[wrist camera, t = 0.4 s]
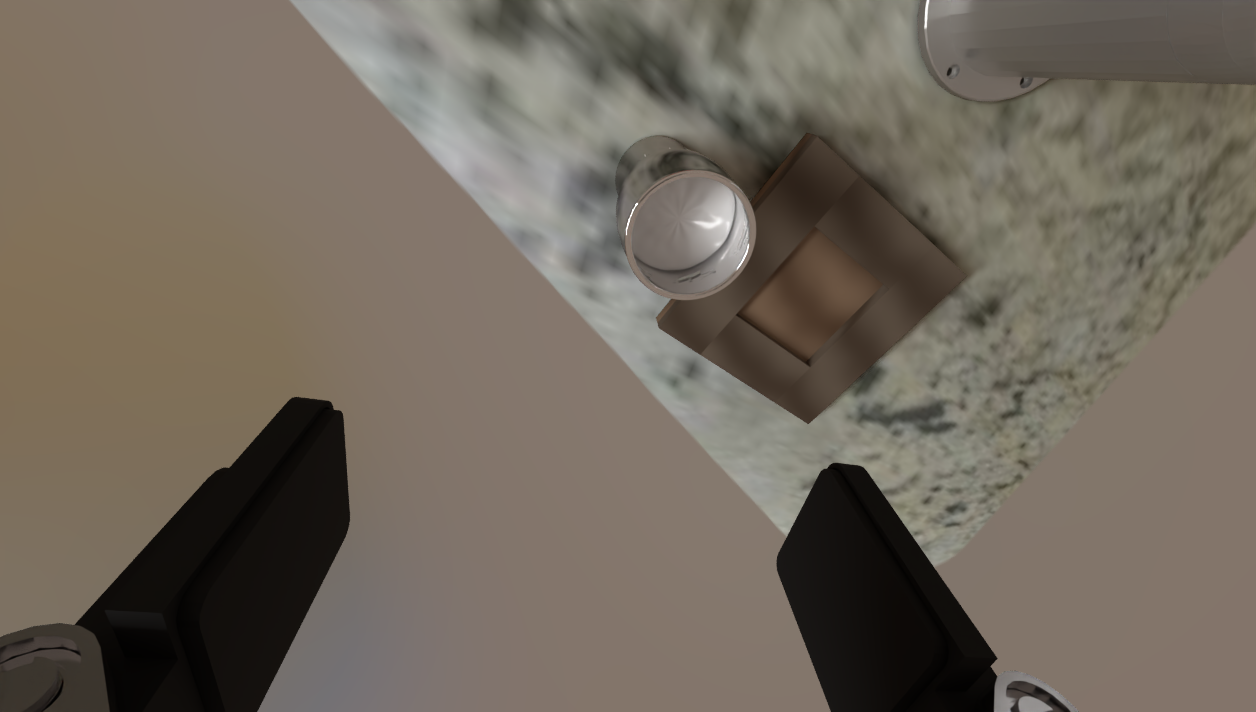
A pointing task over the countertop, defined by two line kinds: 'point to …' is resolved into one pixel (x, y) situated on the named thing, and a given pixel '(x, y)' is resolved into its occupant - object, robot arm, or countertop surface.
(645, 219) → the beer glass
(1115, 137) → the countertop surface
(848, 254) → the coaster board
